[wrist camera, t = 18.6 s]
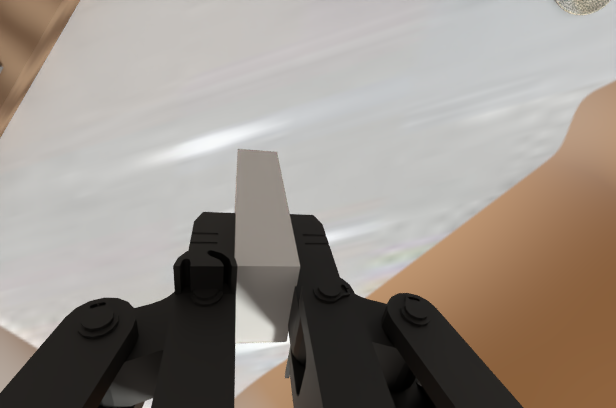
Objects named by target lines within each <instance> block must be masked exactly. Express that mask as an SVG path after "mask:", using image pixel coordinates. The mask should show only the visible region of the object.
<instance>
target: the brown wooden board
mask: <svg viewBox="0 0 616 408" xmlns="http://www.w3.org/2000/svg"><path fill="white" fill-rule="evenodd" d="M79 1H80V0H0V65H1V66H2V67H4V68H3V69H2V71H1V73H0V137H1V136H2V134H3V132H4V131H5V129H6V127H7V125H8V124H9V122H10V120H11V118H12V117H13V115H14V113H15V112H16V110H17V108H18V106H19V105H20V103H21V101H22V100H23V98H24V96H25V94H26V93H27V91H28V89H29V87H30V86H31V84H32V82H33V81H34V79H35V77H36V75H37V74H38V72H39V70H40V68H41V67H42V65H43V63H44V62H45V60H46V58H47V56H48V55H49V53H50V51H51V49H52V48H53V46H54V44H55V43H56V41H57V39H58V37H59V36H60V34H61V32H62V31H63V29H64V27H65V25H66V24H67V22H68V20H69V18H70V17H71V15H72V13H73V12H74V10H75V8H76V6H77V5H78V3H79Z"/></svg>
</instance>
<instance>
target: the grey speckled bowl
mask: <svg viewBox="0 0 616 408" xmlns="http://www.w3.org/2000/svg"><path fill="white" fill-rule="evenodd" d="M555 1H556V2H557V4H558V5H559V6H560V7H561V8H562V9H564V11H566V12H568V13H570V14H574V15H587V14H591V13H594V12H596V11H598V10H600V9H601V8H603V7H604V6H606V5H607V4H608V3H609V2H610V1H611V0H555Z"/></svg>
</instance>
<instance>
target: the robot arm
mask: <svg viewBox="0 0 616 408" xmlns="http://www.w3.org/2000/svg"><path fill="white" fill-rule="evenodd" d="M328 244H329V243H328V240H327V237H326V234H325V231H324V228H323V225H322V224H321V223H320V221H319V220H318V219H317V218H316V217H315V216H314V215H297V214H289V209H288V204H287V199H286V194H285V189H284V184H283V179H282V174H281V169H280V164H279V160H278V155H277V152H271V151H258V150H245V149H238V156H237V176H236V195H235V213H217V212H203V213H202V214H201V215H200V216H199V217H198V218H197V219H196V220H195V221H194V225H193V230H192V235H191V240H190V245H189V251H187V252H185V253H184V254H183V255H181V256H180V257H179V258H178V259H177V260H176V262H175V264H174V266H173V269H174V285H175V292H174V293H172V294H171V295H170V296H169V297H167V298H165V299H163V300H161V301H158V302H155V303H153V304H149V305H145V306H141V307H137V308H133V307H132V306H131V305H130V304H129V302H127V301H124V300H121V299H119V298H101V299H97V300H93V301H89V302H87V303H85V304H83V305H81V306H79V307H77V308H76V309H74V310H73V311H72V312H71V313H70V314H69V315H68V316H66V317H65V318H64V320H63V321H62V322H61V323H60V324H59V325H58V327H57V328H56V329H55V330H54V331H53V332H52V334H51V335H50V336H49V337H48V338H47V339H46V341H45V342H44V343H43V344H42V345H41V346H40V348H39V349H38V350H37V351H36V352H35V353H34V355H33V356H32V357H31V358H30V359H29V360H28V362H27V363H26V364H25V365H24V366H23V367H22V369H21V370H20V371H19V372H18V373H17V374H16V376H15V377H14V378H13V379H12V380H11V381H10V383H9V384H8V385H7V386H6V387H5V388H4V389H3V391H2V392H1V393H0V408H142V406H143V404H144V402H145V401H146V400H149V399H151V398H153V402H152V406H151V408H234V385H235V344H241V343H266V342H286V341H287V336H288V331H289V338H290V350H289V356H288V361H287V366H286V372H285V378H289V376H290V379H291V388H292V396H293V404H294V408H523V407H522V406H521V405H520V403H519V402H518V401H517V400H516V399H515V398H514V396H513V395H512V394H511V393H510V392H509V391H508V389H507V388H506V387H505V386H504V385H503V384H502V383H501V382H500V380H499V379H498V378H497V377H496V376H495V375H494V374H493V372H492V371H491V370H490V369H489V368H488V367H487V366H486V364H485V363H484V362H483V361H482V360H481V359H480V358H479V356H478V355H477V354H476V353H475V352H474V351H473V350H472V348H471V347H470V346H469V345H468V344H467V343H466V342H465V340H464V339H463V338H462V337H461V336H460V335H459V334H458V332H456V330H455V329H454V328H453V327H452V326H451V324H449V322H448V321H447V320H446V319H445V318H444V317H443V316H442V314H441V313H440V312H439V311H438V310H437V309H436V308H435V307H434V306H433V305H432V304H431V303H430V302H429V301H427V300H425V299H423V298H422V297H420V296H418V295H414V294H409V293H399V294H397V295H395V296H393V297H391V298H390V300H389V302H388V303H387V304H384V303H381V302H377V301H373V300H369V299H366V298H363V297H360V296H358V295H356V294H355V293H354V291H353V289H352V288H351V286H350V285H349V284H348V283H347V282H346V281H344V280H343V279H342V278H340V277H339V273H338V270H337V267H336V264H335V261H334V258H333V255H332V252H331V249H330V246H329V245H328Z"/></svg>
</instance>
